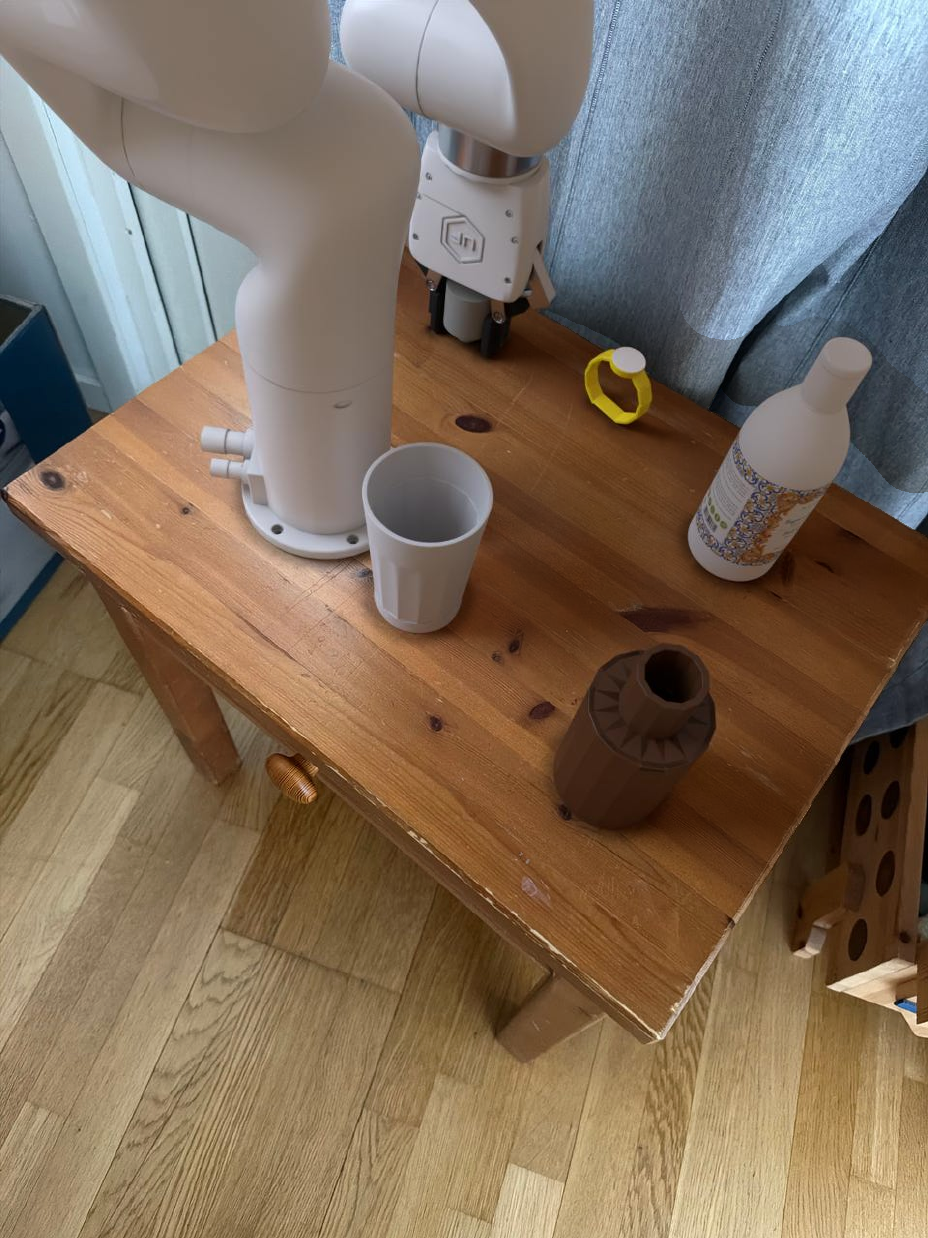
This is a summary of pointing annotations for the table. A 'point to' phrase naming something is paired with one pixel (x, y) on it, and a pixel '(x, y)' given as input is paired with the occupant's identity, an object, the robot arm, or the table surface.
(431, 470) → the cup
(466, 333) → the bung
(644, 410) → the watch
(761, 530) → the bath foam
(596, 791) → the bottle
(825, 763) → the table surface
